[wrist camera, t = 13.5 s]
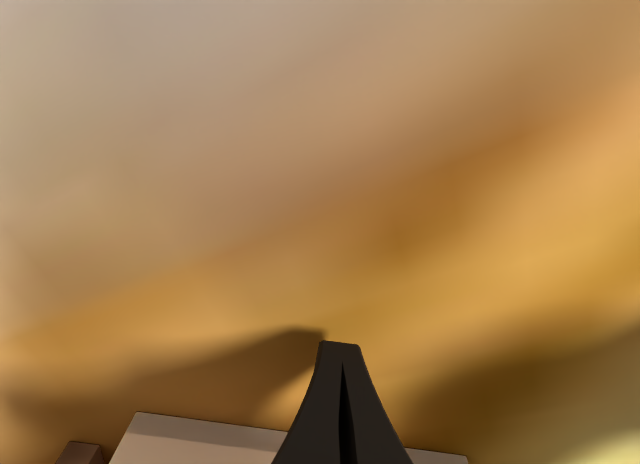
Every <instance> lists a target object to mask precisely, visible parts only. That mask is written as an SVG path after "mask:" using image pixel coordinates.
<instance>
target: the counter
mask: <svg viewBox="0 0 640 464" xmlns="http://www.w3.org/2000/svg"><path fill="white" fill-rule="evenodd" d="M55 464H104V461H103V457H102V453H101V450H100V446H99V445H94V444H86V443H78V442H70V441H69V443H68V444H67V446H66V448H65V449H64V451H63V452H62V454H61V455H60V457H59V458H58V460H57V461H56V463H55Z"/></svg>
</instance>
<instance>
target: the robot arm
mask: <svg viewBox="0 0 640 464" xmlns="http://www.w3.org/2000/svg"><path fill="white" fill-rule="evenodd" d="M271 464H414V463H413V462H412V460H411V458H410V457H409V455H408V453H407V452H406V450H405V448H404V447H403V445H402V443H401V441H400V439H399V438H398V436H397V434H396V432H395V430H394V428H393V426H392V424H391V422H390V420H389V418H388V416H387V414H386V412H385V410H384V408H383V406H382V404H381V401H380V399H379V397H378V395H377V392H376V390H375V388H374V385H373V383H372V381H371V378H370V375H369V373H368V370H367V367H366V365H365V362H364V359H363V356H362V352H361V349H360V347H359V346H358V345H356V344H348V343H341V342H333V341H325V340H323V341H321V342H319V347H318V353H317V358H316V363H315V368H314V373H313V376H312V378H311V381H310V384H309V387H308V390H307V392H306V395H305V397H304V399H303V402H302V404H301V406H300V409H299V411H298V413H297V415H296V417H295V420H294V422H293V424H292V426H291V428H290V430H289V432H288V434H287V436H286V437H285V439H284V441H283V443H282V445H281V447H280V449H279V450H278V452H277V454H276V456H275V457H274V459H273V461H272V463H271Z"/></svg>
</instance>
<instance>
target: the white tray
mask: <svg viewBox="0 0 640 464" xmlns="http://www.w3.org/2000/svg"><path fill="white" fill-rule="evenodd" d="M287 434H288V432H284V431H276V430H269V429H261V428H254V427H247V426H239V425H232V424H224V423H217V422H210V421H202V420H195V419H187V418H180V417H172V416H165V415H158V414H150V413H143V412H136V413H135V415H134V417H133V419H132V421H131V423H130V425H129V426H128V428H127V430H126V432H125V434H124V436H123V438H122V440H121V442H120V444H119V445H118V447H117V449H116V451H115V453H114V455H113V457H112V459H111V461H110V463H109V464H271V463H272V461H273V459H274V457H275V456H276V454H277V452H278V450H279V449H280V447H281V445H282V443H283V441H284V439H285V437H286V436H287ZM405 450H406V452H407V453H408V455H409V457H410V458H411V460H412V462H413V463H414V464H468V461H467V458H466V456H462V455H455V454H447V453H440V452H432V451H425V450H417V449H410V448H405Z"/></svg>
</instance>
